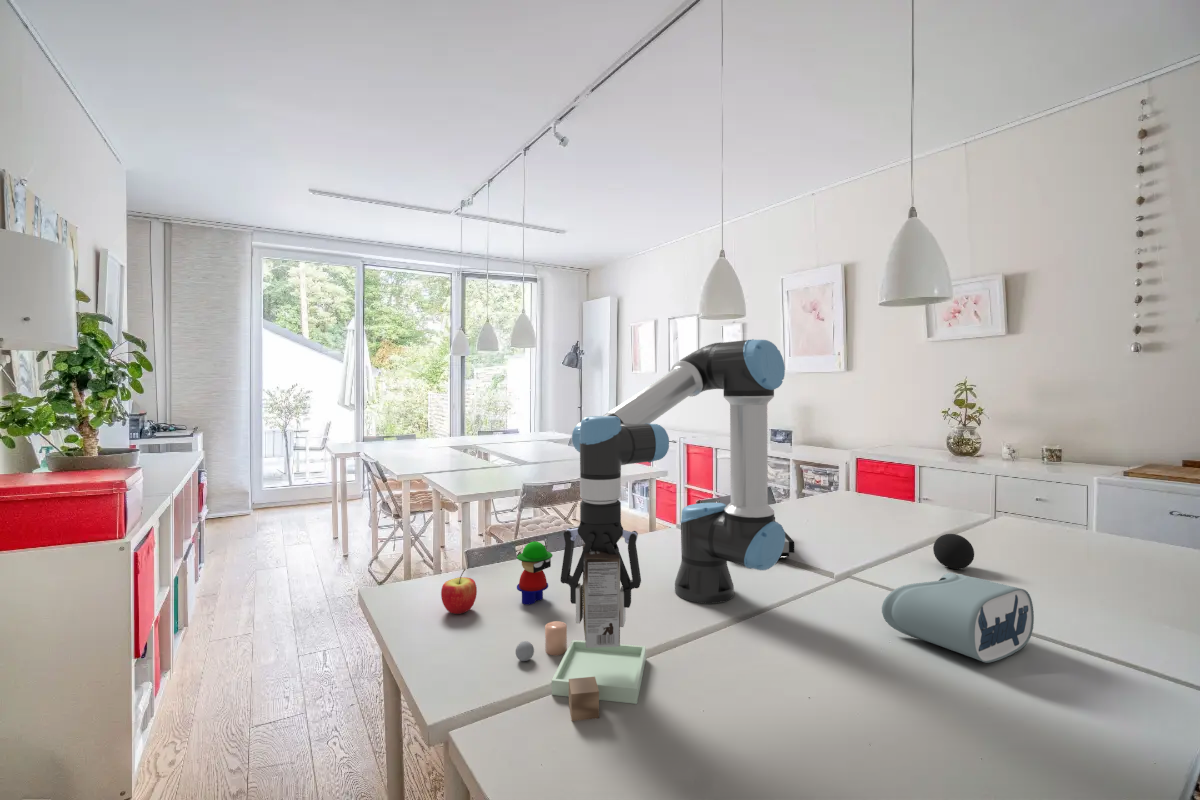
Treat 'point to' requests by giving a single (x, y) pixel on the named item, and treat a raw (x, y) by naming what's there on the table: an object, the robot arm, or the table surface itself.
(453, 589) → the apple
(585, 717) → the walnut cube
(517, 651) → the grey ball
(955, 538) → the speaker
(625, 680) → the tray
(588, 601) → the coffee box
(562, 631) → the peach rounded cylinder
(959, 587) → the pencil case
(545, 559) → the toy
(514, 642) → the table surface
